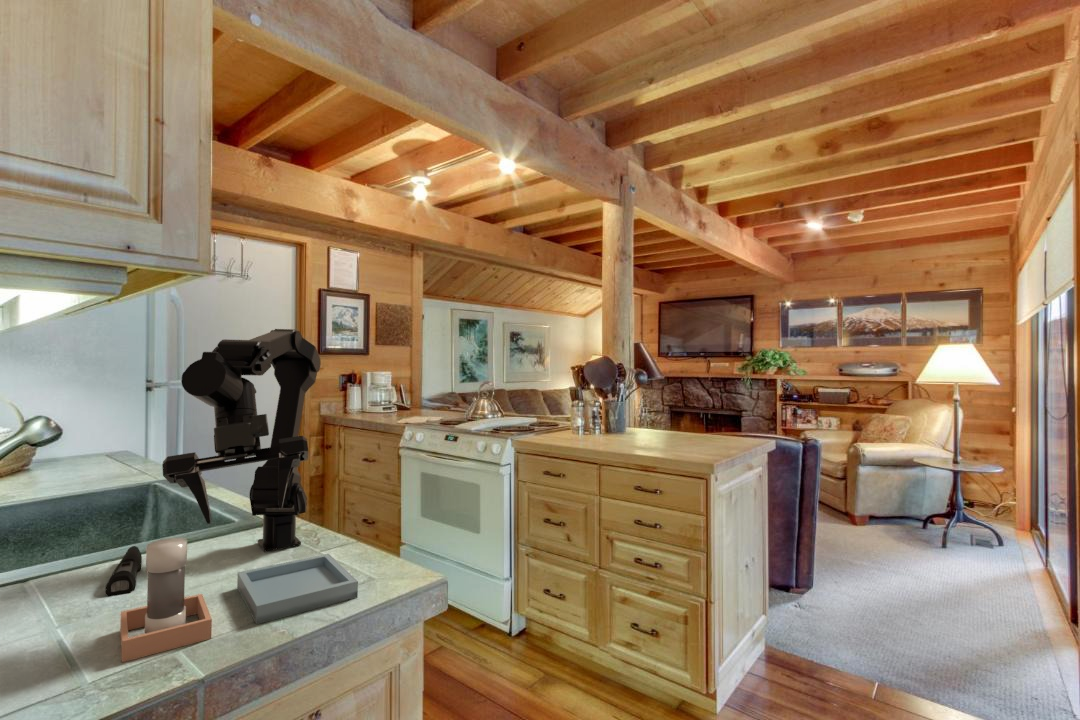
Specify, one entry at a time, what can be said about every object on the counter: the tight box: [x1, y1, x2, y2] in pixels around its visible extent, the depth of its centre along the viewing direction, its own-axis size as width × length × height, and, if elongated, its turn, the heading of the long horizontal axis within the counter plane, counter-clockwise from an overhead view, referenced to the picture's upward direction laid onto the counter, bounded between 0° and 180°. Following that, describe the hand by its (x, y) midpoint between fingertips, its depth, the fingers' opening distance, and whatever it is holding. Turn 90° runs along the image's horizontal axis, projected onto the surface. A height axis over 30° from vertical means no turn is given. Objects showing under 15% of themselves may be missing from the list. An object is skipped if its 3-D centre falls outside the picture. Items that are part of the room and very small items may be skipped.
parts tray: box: [236, 553, 359, 625], centre depth 84 cm, size 14×14×2 cm
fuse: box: [144, 537, 188, 634], centre depth 70 cm, size 4×4×12 cm
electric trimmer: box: [104, 545, 143, 597], centre depth 88 cm, size 4×16×3 cm, turn 31°
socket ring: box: [120, 593, 213, 663], centre depth 71 cm, size 9×9×2 cm
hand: (245, 515), depth 78 cm, fingers open, 9 cm apart
